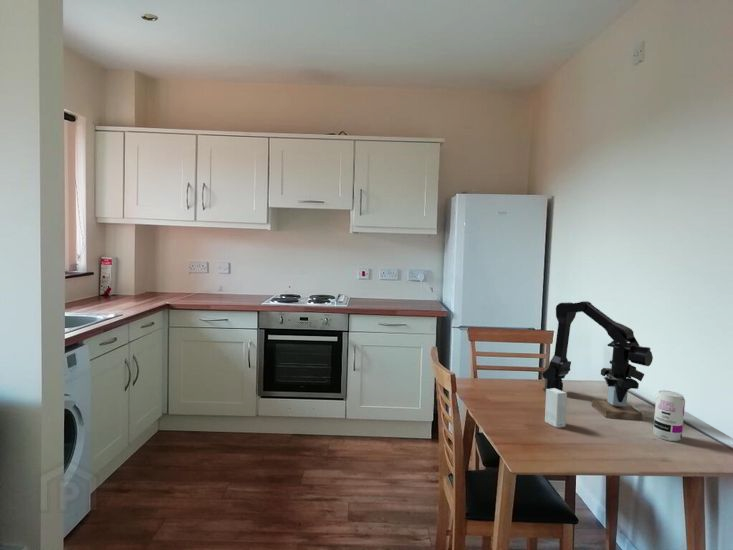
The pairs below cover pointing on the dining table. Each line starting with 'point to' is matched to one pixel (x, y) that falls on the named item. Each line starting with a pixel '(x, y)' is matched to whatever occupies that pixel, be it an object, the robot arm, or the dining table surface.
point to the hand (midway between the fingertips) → (616, 399)
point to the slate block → (615, 397)
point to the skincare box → (555, 407)
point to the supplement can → (669, 415)
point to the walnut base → (616, 410)
